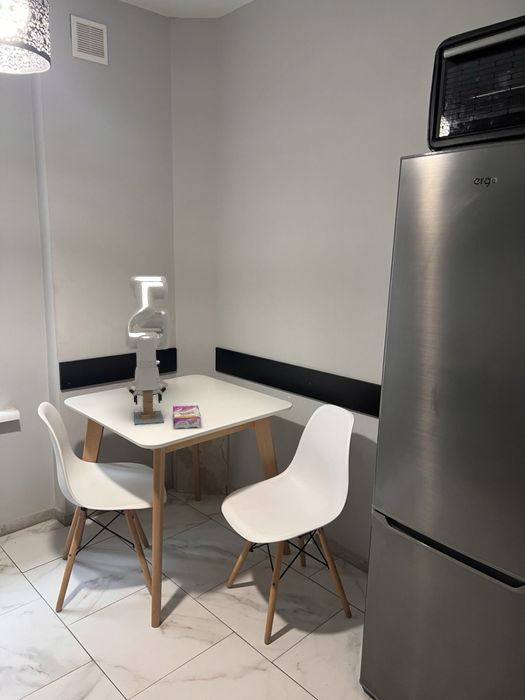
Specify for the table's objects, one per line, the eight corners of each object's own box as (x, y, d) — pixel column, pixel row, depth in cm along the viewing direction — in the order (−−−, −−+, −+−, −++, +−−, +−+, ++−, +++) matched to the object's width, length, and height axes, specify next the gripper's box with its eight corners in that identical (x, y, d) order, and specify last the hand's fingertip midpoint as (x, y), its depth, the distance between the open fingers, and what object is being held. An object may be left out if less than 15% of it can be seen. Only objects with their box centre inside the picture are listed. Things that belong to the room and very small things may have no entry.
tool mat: (133, 413, 225) (133, 412, 225) (160, 411, 228) (160, 410, 228) (134, 425, 210) (134, 423, 210) (164, 423, 213) (164, 421, 213)
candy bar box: (198, 404, 223) (201, 416, 207) (198, 415, 224) (201, 428, 208) (172, 405, 221) (173, 417, 205) (172, 416, 222) (173, 429, 206)
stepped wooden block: (140, 415, 221) (140, 388, 219) (154, 414, 223) (154, 387, 220) (141, 419, 215) (140, 392, 213) (155, 418, 217) (155, 391, 215)
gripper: (166, 361, 221) (167, 399, 224) (125, 363, 216) (126, 402, 219) (168, 365, 213) (169, 404, 217) (125, 366, 209) (127, 407, 212)
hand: (147, 403), depth 218 cm, fingers open, 9 cm apart
